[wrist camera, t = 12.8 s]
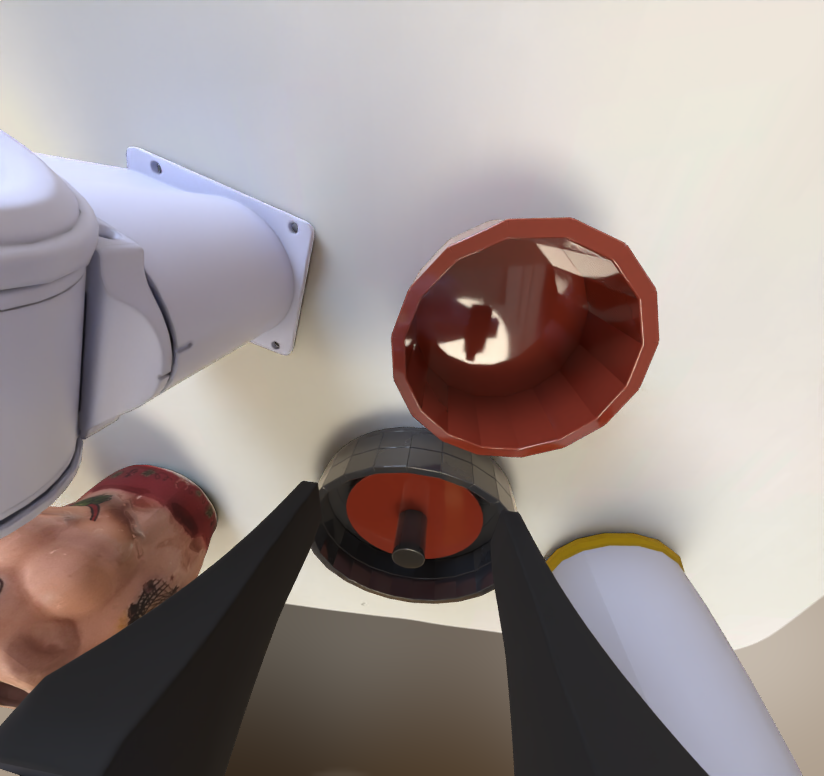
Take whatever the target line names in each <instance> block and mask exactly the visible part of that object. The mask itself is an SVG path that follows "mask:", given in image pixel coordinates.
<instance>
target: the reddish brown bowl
mask: <svg viewBox="0 0 824 776" xmlns="http://www.w3.org/2000/svg"><path fill="white" fill-rule="evenodd" d="M658 341H659V325H658V305H657V291H656V288H655V286H654V285H653V283H652V282H651V280H650V278H649V277H648V275H647V274H646V272H645V271H644V269H643V268H642V266H641V265H640V263H639V262H638V260H637V259H636V257H635V256H634V254H633V253H632V251H631V250H630V248H629V247H628V245H626V244H625V243H624V242H622V241H620V240H618V239H616V238H614V237H612V236H610V235H608V234H606V233H604V232H602V231H599V230H597V229H595V228H593V227H591V226H589V225H587V224H585V223H583V222H581V221H579V220H577V219H575V218H571V217H566V218H520V219H500V220H490V221H487V222H485V223H483V224H481V225H479V226H476V227H474V228H472V229H469V230H467V231H465V232H464V233H461V234H459V235H457V236H455V237H453V238H451V239H449V240H448V241H447V242H446V243H445V244H444V245H443V246H442V247H441V248H440V249H439V250H438V252H437V253H436V254H435V255H434V256H433V257H432V258H431V259H430V260H429V261H428V262H427V263H426V265H425V266H424V267H423V268H422V269H421V270H420V272H419V273H418V275H417V276H416V278H415V280H414V281H413V283H412V285H411V286H410V288H409V290H408V292H407V294H406V297H405V300H404V302H403V305H402V308H401V310H400V313H399V316H398V318H397V321H396V324H395V326H394V329H393V332H392V336H391V345H392V363H393V378H394V382H395V384H396V386H397V388H398V389H399V391H400V393H401V395H402V397H403V399H404V401H405V403H406V405H407V407H408V409H409V411H410V413H411V415H412V416H413V417H414V418H415V419H416V420H418V421H419V422H420V423H421V424H422V425H423V426H425V427H426V428H427V429H428V430H429V431H430V432H432V433H433V434H434V435H435V436H436V437H437V438H439V439H440V440H441V441H443V442H445V443H448V444H451V445H453V446H456V447H458V448H461V449H464V450H466V451H469V452H471V453H474V454H477V455H478V454H479V455H486V456H503V457H526V456H530V455H535V454H539V453H543V452H548V451H552V450H557V449H561V448H563V447H566V446H568V445H570V444H572V443H574V442H575V441H577V440H579V439H581V438H583V437H584V436H586V435H588V434H590V433H592V432H594V431H595V430H597V429H599V428H601V427H603V426H604V425H605V424H607V423H608V421H609V420H610V419H611V418H612V417H613V416H614V415H615V414H616V413H617V412H618V411H619V410H620V409H621V408H622V407H623V406H624V405H625V404H626V403H627V402H628V401H629V399H630V398H631V397H632V396H633V395H634V394H635V393H636V392H637V391H638V390H639V388H640V386H641V384H642V382H643V379H644V377H645V375H646V372H647V370H648V367H649V365H650V363H651V360H652V358H653V356H654V353H655V351H656V348H657V346H658V344H659V342H658Z"/></svg>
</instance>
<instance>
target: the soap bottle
mask: <svg viewBox="0 0 824 776" xmlns="http://www.w3.org/2000/svg"><path fill="white" fill-rule="evenodd" d="M546 563H547V565H548V566H549V568H550V570H551V571H552V573H553V575H554V576H555V578H556V580H557V581H558V583H559V585H560V586H561V588H562V589H563V591H564V593H565V594H566V596H567V597H568V599H569V600H570V602H571V603H572V605H573V606H574V608H575V609H576V611H577V612H578V614H579V615H580V617H581V618H582V620H583V621H584V623H585V624H586V626H587V627H588V628H589V630H590V631H591V633H592V634H593V635H594V637H595V638H596V639H597V641H598V642H599V644H600V645H601V646H602V648H603V649H604V650H605V652H606V653H607V654H608V656H609V657H610V658H611V660H612V661H613V662H614V664H615V665H616V666H617V667H618V669H619V670H620V671H621V673H622V674H623V675H624V676H625V677H626V679H627V680H628V681H629V682H630V684H631V685H632V686H633V687H634V689H635V690H636V691H637V692H638V693H639V695H640V696H641V697H642V698H643V700H644V701H645V702H646V703H647V705H648V706H649V707H650V708H651V709H652V711H653V712H654V713H655V714H656V716H657V717H658V718H659V719H660V720H661V721H662V723H663V724H664V725H665V726H666V727H667V728H668V729H669V731H670V732H671V733H672V734H673V735H674V736H675V738H676V739H677V740H678V741H679V742H680V743H681V745H682V746H683V747H684V748H685V749H686V750H687V751H688V752H689V754H690V755H691V756H692V757H693V758H694V759H695V760H696V761H697V762H698V764H699V765H700V766H701V767H702V768H703V769H704V770H705V771H706V772H707V773H708V775H709V776H803V775H802V773H801V771H800V769H799V767H798V765H797V764H796V762H795V760H794V758H793V756H792V754H791V752H790V750H789V748H788V747H787V745H786V743H785V741H784V739H783V738H782V736H781V734H780V732H779V730H778V728H777V727H776V725H775V723H774V721H773V719H772V717H771V716H770V714H769V712H768V710H767V708H766V706H765V705H764V703H763V701H762V699H761V697H760V695H759V694H758V692H757V690H756V688H755V686H754V685H753V683H752V681H751V679H750V677H749V676H748V674H747V672H746V670H745V669H744V667H743V665H742V664H741V662H740V661H739V659H738V657H737V656H736V654H735V652H734V651H733V649H732V647H731V646H730V644H729V642H728V641H727V639H726V637H725V636H724V634H723V632H722V631H721V629H720V627H719V626H718V624H717V622H716V621H715V619H714V617H713V616H712V614H711V612H710V611H709V609H708V607H707V606H706V604H705V603H704V601H703V600H702V598H701V597H700V595H699V594H698V592H697V591H696V589H695V588H694V586H693V585H692V583H691V582H690V580H689V579H688V578H687V576H686V575H685V573H684V569H683V566H682V562H681V559H680V556H678V555H677V554H676V553H675V552H674V551H672V550H671V549H670V548H668V547H667V546H665V545H664V544H663V543H661V542H660V541H659V540H656V539H652V538H649V537H645V536H641V535H637V534H634V533H603V534H598V535H594V536H589V537H584V538H580V539H576V540H574V541H572V542H570V543H569V544H567V545H565V546H563V547H561V548H559V549H557V550H556V551H555V552H554V553H553V554H552V555H551V556H550V558H549V559H548V560H547V561H546Z"/></svg>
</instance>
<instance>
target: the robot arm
mask: <svg viewBox="0 0 824 776" xmlns="http://www.w3.org/2000/svg"><path fill="white" fill-rule="evenodd" d="M126 157H127V167H128V169H126V168H120V167H115V166H109V165H103V164H97V163H91V162H86V161H80V160H74V159H68V158H62V157H56V156H51V155H45V154H39V153H33V152H32V151H31V150H29V149H28V148H27V147H25V146H24V145H23V144H21V143H20V142H19V141H17V140H16V139H14V138H13V137H11V136H10V135H8V134H7V133H5V132H4V131H2V130H1V129H0V539H1V538H3V537H5V536H7V535H9V534H11V533H12V532H14V531H15V530H17V529H18V528H20V527H22V526H23V525H25V524H26V523H28V522H29V521H31V520H32V519H34V518H35V517H36V516H38V515H39V514H40V513H41V512H43V511H44V510H45V509H46V508H48V507H49V506H50V505H51V504H52V503H53V502H54V501H55V500H56V499H57V498H58V497H59V496H60V495H61V494H62V493H63V492H64V491H65V490H66V488H67V487H68V486H69V484H70V483H71V481H72V480H73V478H74V477H75V475H76V473H77V471H78V468H79V466H80V463H81V459H82V450H83V441H82V439H86V438H88V437H89V436H91V435H93V434H95V433H96V432H98V431H100V430H101V429H103V428H105V427H106V426H108V425H110V424H111V423H113V422H115V421H117V420H118V418H119V416H120V415H122V414H125V413H127V412H129V411H132V410H134V409H136V408H138V407H140V406H142V405H143V404H145V403H147V402H148V401H150V400H152V399H153V398H155V397H156V396H158V395H160V394H161V393H163V392H165V391H166V390H168V389H170V388H172V387H173V386H175V385H177V384H178V383H180V382H182V381H183V380H185V379H187V378H189V377H190V376H192V375H194V374H195V373H197V372H199V371H200V370H202V369H204V368H205V367H207V366H209V365H211V364H212V363H214V362H216V361H217V360H219V359H221V358H222V357H224V356H226V355H228V354H229V353H231V352H233V351H234V350H236V349H238V348H239V347H241V346H243V345H245V344H246V343H248V342H251V343H254V344H256V345H259V346H261V347H264V348H266V349H269V350H271V351H274V352H276V353H279V354H282V355H289V354H290V353H291V352H292V351H293V348H294V343H295V337H296V332H297V327H298V321H299V316H300V311H301V305H302V300H303V295H304V290H305V284H306V279H307V274H308V268H309V263H310V258H311V252H312V247H313V242H314V237H315V231H314V228H313V226H312V225H311V224H310V223H309V222H307V221H305V220H303V219H300V218H298V217H296V216H294V215H291V214H289V213H287V212H285V211H282V210H280V209H278V208H275V207H273V206H271V205H269V204H266V203H264V202H262V201H259V200H257V199H255V198H253V197H250V196H248V195H246V194H244V193H241V192H239V191H237V190H234V189H232V188H230V187H228V186H225V185H223V184H221V183H219V182H216V181H214V180H212V179H209V178H207V177H205V176H203V175H200V174H198V173H196V172H194V171H191V170H189V169H187V168H184V167H182V166H180V165H178V164H175V163H173V162H171V161H169V160H166V159H164V158H162V157H159V156H157V155H155V154H153V153H150V152H148V151H146V150H144V149H141V148H137V147H133V146H131V147H128V149H127V152H126ZM158 164H159V165H160V166H161V169H162V172H161V173H160V172H159V170H158ZM294 222H295V223H296V224H297V226H298V232H297V233H295V232H294V231H293V229H292V224H293V223H294ZM275 342H277V343H278V344H279V347H278V346H276V345H275ZM321 518H322V513H321V505H320V496H319V487H318V483H314V482H307V481H302V482H301V483H300V484H299V485H298V486H297V487H296V488H295V489H294V490H293V491H292V492H291V493H290V494H289V495H288V496H287V497H286V498H285V499H284V500H283V501H282V502H281V503H280V504H279V505H278V506H277V507H276V508H275V509H274V510H273V511H272V512H271V513H270V514H269V515H268V516H267V517H266V518H265V519H264V520H263V521H262V522H261V523H260V524H259V525H258V526H257V527H256V528H255V529H254V530H253V531H251V532H250V533H249V534H248V535H247V536H246V537H245V538H244V539H243V540H241V541H240V542H239V543H238V544H237V545H236V546H235V547H234V548H232V549H231V550H230V551H229V552H228V553H227V554H225V555H224V556H223V557H222V558H221V559H219V560H218V561H217V562H216V563H215V564H213V565H212V566H211V567H209V568H208V569H207V570H206V571H204V572H203V573H202V574H201V575H199V576H198V577H197V578H195V579H194V580H193V581H191V582H190V583H189V584H187V585H186V586H185V587H183V588H182V589H181V590H179V591H178V592H177V593H175V594H174V595H173V596H171V597H170V598H168V599H167V600H165V601H164V602H163V603H161V604H160V605H158V606H157V607H155V608H154V609H152V610H151V611H149V612H148V613H146V614H145V615H143V616H142V617H140V618H139V619H137V620H136V621H134V622H133V623H131V624H130V625H128V626H127V627H125V628H124V629H122V630H121V631H119V632H118V633H116V634H115V635H113V636H112V637H110V638H108V639H107V640H105V641H104V642H102V643H100V644H99V645H97V646H95V647H94V648H92V649H90V650H89V651H87V652H85V653H84V654H82V655H80V656H79V657H77V658H76V659H74V660H72V661H71V662H69V663H67V664H66V665H64V666H62V667H61V668H59V669H57V670H56V671H54V672H52V673H50V674H49V675H47V676H46V677H44V678H43V679H42V680H41V681H40V682H39V684H38V685H37V686H36V687H35V688H34V689H33V690H32V691H31V692H30V693H29V694H28V695H27V696H26V697H25V698H24V700H23V701H22V702H21V703H20V704H19V705H18V706H17V708H16V709H15V710H14V711H13V712H12V713H11V714H10V715H9V717H8V718H7V719H6V720H5V721H4V722H3V723H2V724H1V726H0V769H3V770H6V771H9V772H12V773H15V774H18V775H20V776H224V775H225V772H226V769H227V766H228V763H229V759H230V756H231V753H232V750H233V747H234V744H235V741H236V738H237V734H238V731H239V728H240V725H241V722H242V719H243V716H244V713H245V710H246V707H247V704H248V702H249V699H250V695H251V693H252V689H253V687H254V684H255V681H256V678H257V676H258V672H259V670H260V667H261V664H262V662H263V658H264V656H265V653H266V650H267V648H268V645H269V642H270V640H271V637H272V634H273V631H274V629H275V626H276V623H277V621H278V618H279V616H280V613H281V611H282V609H283V607H284V604H285V602H286V600H287V598H288V596H289V594H290V591H291V589H292V587H293V585H294V583H295V581H296V579H297V576H298V574H299V572H300V570H301V568H302V566H303V564H304V561H305V559H306V557H307V555H308V553H309V550H310V548H311V546H312V544H313V541H314V538H315V535H316V533H317V530H318V527H319V524H320V521H321ZM490 545H491V562H492V574H493V580H494V586H495V593H496V599H497V605H498V611H499V617H500V623H501V629H502V634H503V641H504V647H505V654H506V664H507V675H508V687H509V699H510V713H511V725H512V741H513V758H514V774H515V776H709V775H708V773H707V772H706V771H705V770H704V769H703V768H702V767H701V766H700V765H699V764H698V762H697V761H696V760H695V759H694V758H693V757H692V756H691V755H690V754H689V752H688V751H687V750H686V749H685V748H684V747H683V746H682V745H681V743H680V742H679V741H678V740H677V739H676V738H675V736H674V735H673V734H672V733H671V732H670V731H669V729H668V728H667V727H666V726H665V725H664V724H663V723H662V721H661V720H660V719H659V718H658V717H657V716H656V714H655V713H654V712H653V711H652V709H651V708H650V707H649V706H648V705H647V703H646V702H645V701H644V700H643V698H642V697H641V696H640V695H639V693H638V692H637V691H636V690H635V689H634V687H633V686H632V685H631V684H630V682H629V681H628V680H627V679H626V677H625V676H624V675H623V674H622V673H621V671H620V670H619V669H618V667H617V666H616V665H615V664H614V662H613V661H612V660H611V658H610V657H609V656H608V654H607V653H606V652H605V650H604V649H603V648H602V646H601V645H600V644H599V642H598V641H597V639H596V638H595V637H594V635H593V634H592V633H591V631H590V630H589V628H588V627H587V626H586V624H585V623H584V621H583V620H582V618H581V617H580V615H579V614H578V612H577V611H576V609H575V608H574V606H573V605H572V603H571V602H570V600H569V599H568V597H567V596H566V594H565V593H564V591H563V589H562V588H561V586H560V585H559V583H558V581H557V580H556V578H555V576H554V575H553V573H552V571H551V570H550V568H549V566H548V565H547V563H546V561H545V560H544V558H543V556H542V554H541V553H540V551H539V549H538V547H537V545H536V544H535V542H534V540H533V538H532V536H531V534H530V533H529V531H528V529H527V527H526V525H525V523H524V521H523V519H522V517H521V515H520V514H519V513H518V512H513V511H506V510H502V511H501V514H500V517H499V520H498V522H497V525H496V528H495V531H494V534H493V536H492V539H491V542H490Z"/></svg>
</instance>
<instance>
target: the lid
mask: <svg viewBox="0 0 824 776" xmlns="http://www.w3.org/2000/svg"><path fill="white" fill-rule="evenodd" d="M346 511H347V516H348V519H349V521H350V523H351V525H352V526H353V528H354V529H355V530H356V532H357V533H358V534H359V535H360V536H361V537H362V538H364V539H365V540H366V541H367V542H369V543H370V544H372V545H374V546H375V547H377V548H379V549H381V550H383V551H386V552H388V553H391V554H392V559H393V561H394V562H395V563H396V564H397V565H399V566H401V567H405V568H418V567H420V566H422V565H423V564H424V562H425V559H433V558H440V557H445V556H449V555H452V554H455V553H458V552H460V551H462V550H464V549H465V548H467V547H468V546H470V545H471V544H472V543H473V542H474V541H475V540H476V539H477V537H478V536H479V534H480V532H481V529H482V526H483V511H482V507H481V504H480V501H479V499H478V497H477V496H476V494H475V493H474V492H472V491H471V490H469V489H467V488H464V487H461V486H459V485H456V484H453V483H451V482H448V481H445V480H443V479H440V478H435V477H429V476H423V475H417V474H411V473H385V474H374V475H369V476H365V477H361V478H359V479H358V480H357V481H356V483H355V484H354V485H353V487H352V488H351V490H350V492H349V495H348V498H347V503H346Z"/></svg>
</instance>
